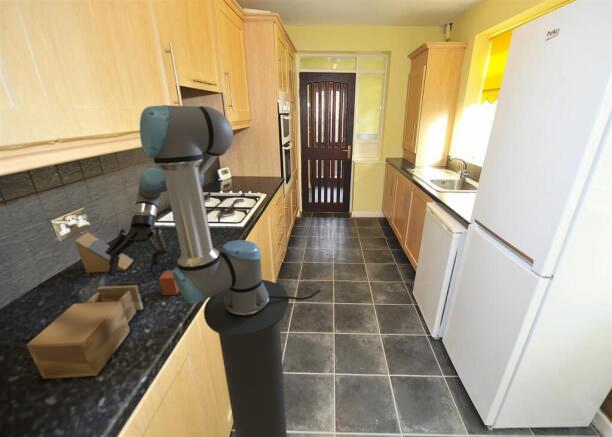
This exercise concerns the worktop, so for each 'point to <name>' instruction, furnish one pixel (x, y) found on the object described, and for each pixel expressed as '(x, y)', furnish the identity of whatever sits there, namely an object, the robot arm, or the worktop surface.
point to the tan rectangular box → (80, 340)
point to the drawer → (120, 297)
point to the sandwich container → (97, 254)
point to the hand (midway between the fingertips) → (132, 273)
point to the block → (168, 284)
